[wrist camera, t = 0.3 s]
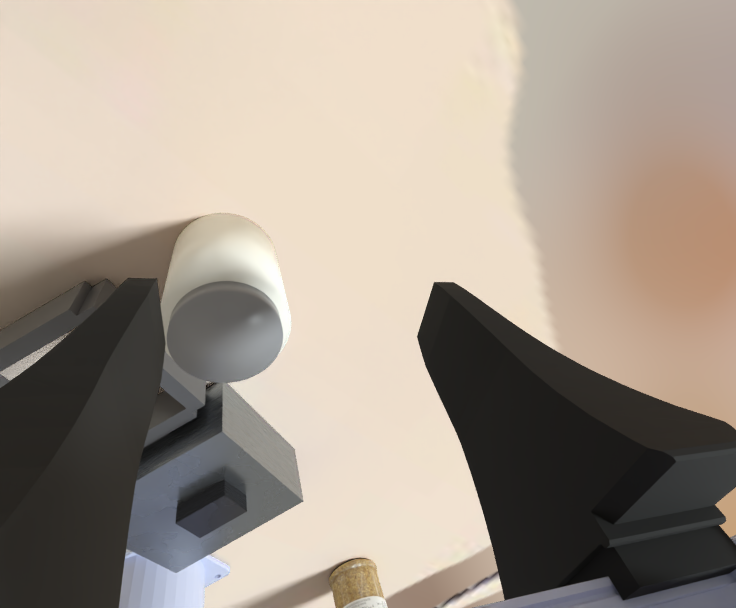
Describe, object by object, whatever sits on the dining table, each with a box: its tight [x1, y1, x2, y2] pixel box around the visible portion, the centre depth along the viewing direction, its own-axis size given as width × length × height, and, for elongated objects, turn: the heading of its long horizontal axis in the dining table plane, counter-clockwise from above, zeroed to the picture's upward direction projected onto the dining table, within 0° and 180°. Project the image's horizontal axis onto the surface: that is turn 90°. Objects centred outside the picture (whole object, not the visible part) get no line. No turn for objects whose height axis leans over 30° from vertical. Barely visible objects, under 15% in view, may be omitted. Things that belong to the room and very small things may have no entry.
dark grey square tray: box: [0, 279, 206, 449], centre depth 21 cm, size 8×9×2 cm
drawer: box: [125, 383, 303, 573], centre depth 25 cm, size 11×8×5 cm
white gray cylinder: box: [160, 213, 291, 383], centre depth 18 cm, size 5×5×7 cm
